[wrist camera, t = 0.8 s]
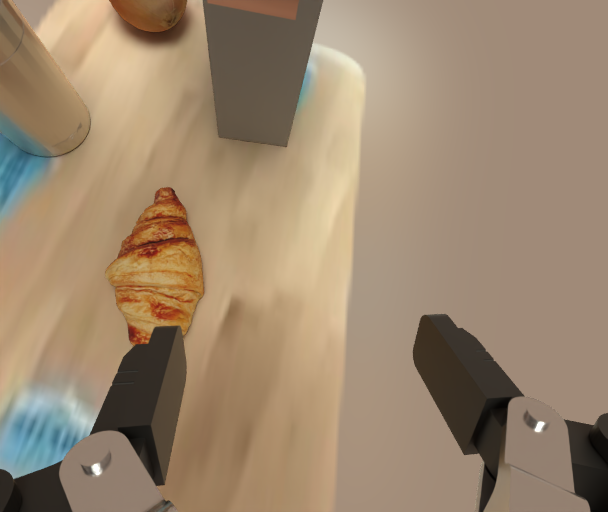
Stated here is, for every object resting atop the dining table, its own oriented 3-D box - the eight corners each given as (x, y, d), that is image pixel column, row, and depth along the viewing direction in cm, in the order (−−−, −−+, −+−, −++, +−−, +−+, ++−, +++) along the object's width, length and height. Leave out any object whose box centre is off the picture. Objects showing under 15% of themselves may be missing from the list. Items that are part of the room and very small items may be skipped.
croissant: (185, 368, 44) (212, 376, 38) (91, 376, 38) (105, 387, 32) (194, 204, 48) (220, 186, 42) (110, 187, 42) (125, 163, 36)
